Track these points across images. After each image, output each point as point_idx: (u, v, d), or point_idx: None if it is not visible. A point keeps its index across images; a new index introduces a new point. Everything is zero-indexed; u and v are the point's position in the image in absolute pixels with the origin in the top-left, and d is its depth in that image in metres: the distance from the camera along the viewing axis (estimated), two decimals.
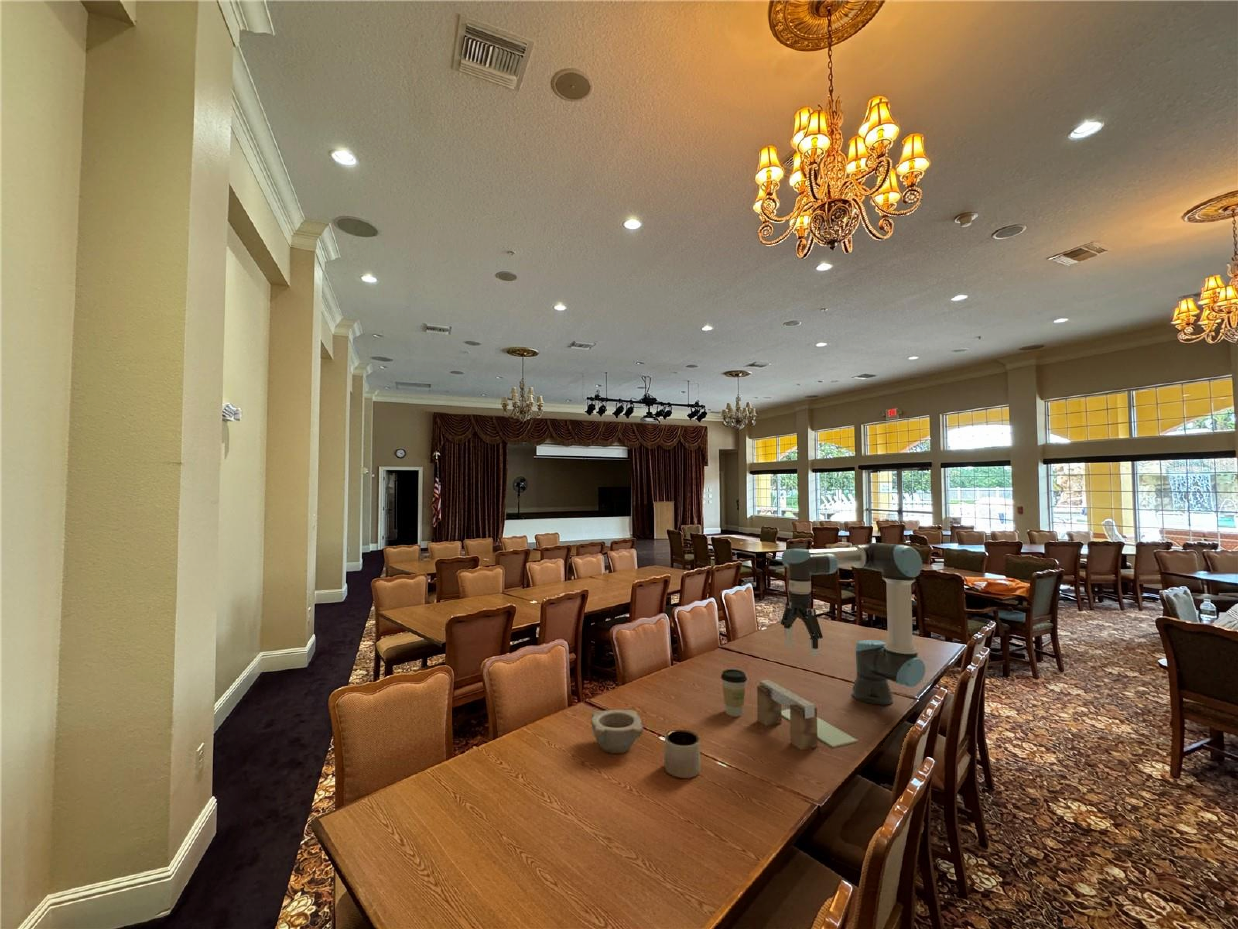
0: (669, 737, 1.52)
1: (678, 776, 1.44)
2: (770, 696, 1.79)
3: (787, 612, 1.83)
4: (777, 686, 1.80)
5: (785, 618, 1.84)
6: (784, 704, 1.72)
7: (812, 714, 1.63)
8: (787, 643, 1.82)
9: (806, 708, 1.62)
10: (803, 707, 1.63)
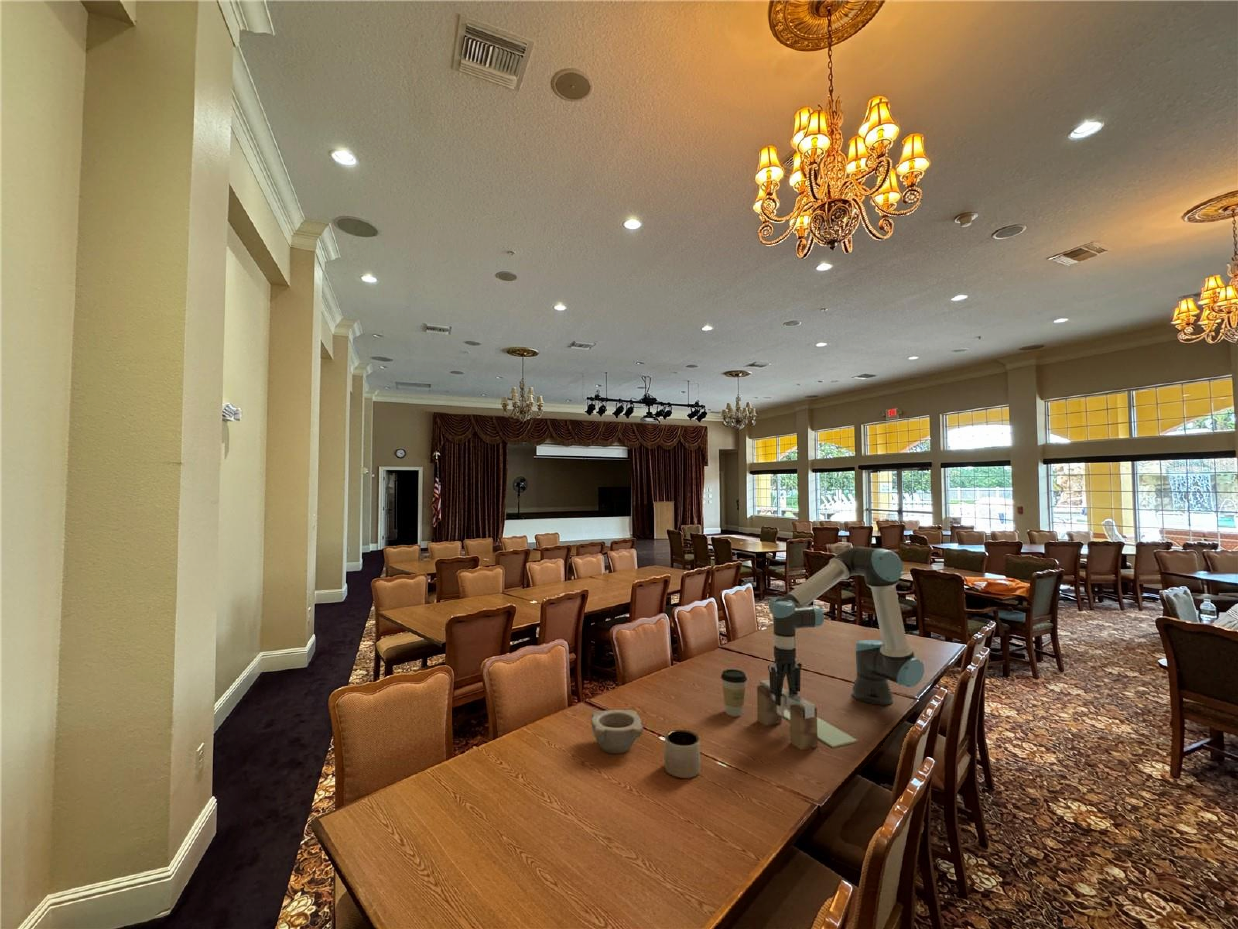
0: (669, 737, 1.52)
1: (678, 776, 1.44)
2: (770, 696, 1.79)
3: (794, 672, 1.77)
4: None
5: (794, 680, 1.77)
6: (784, 704, 1.72)
7: (812, 714, 1.63)
8: None
9: (806, 708, 1.62)
10: (803, 707, 1.63)
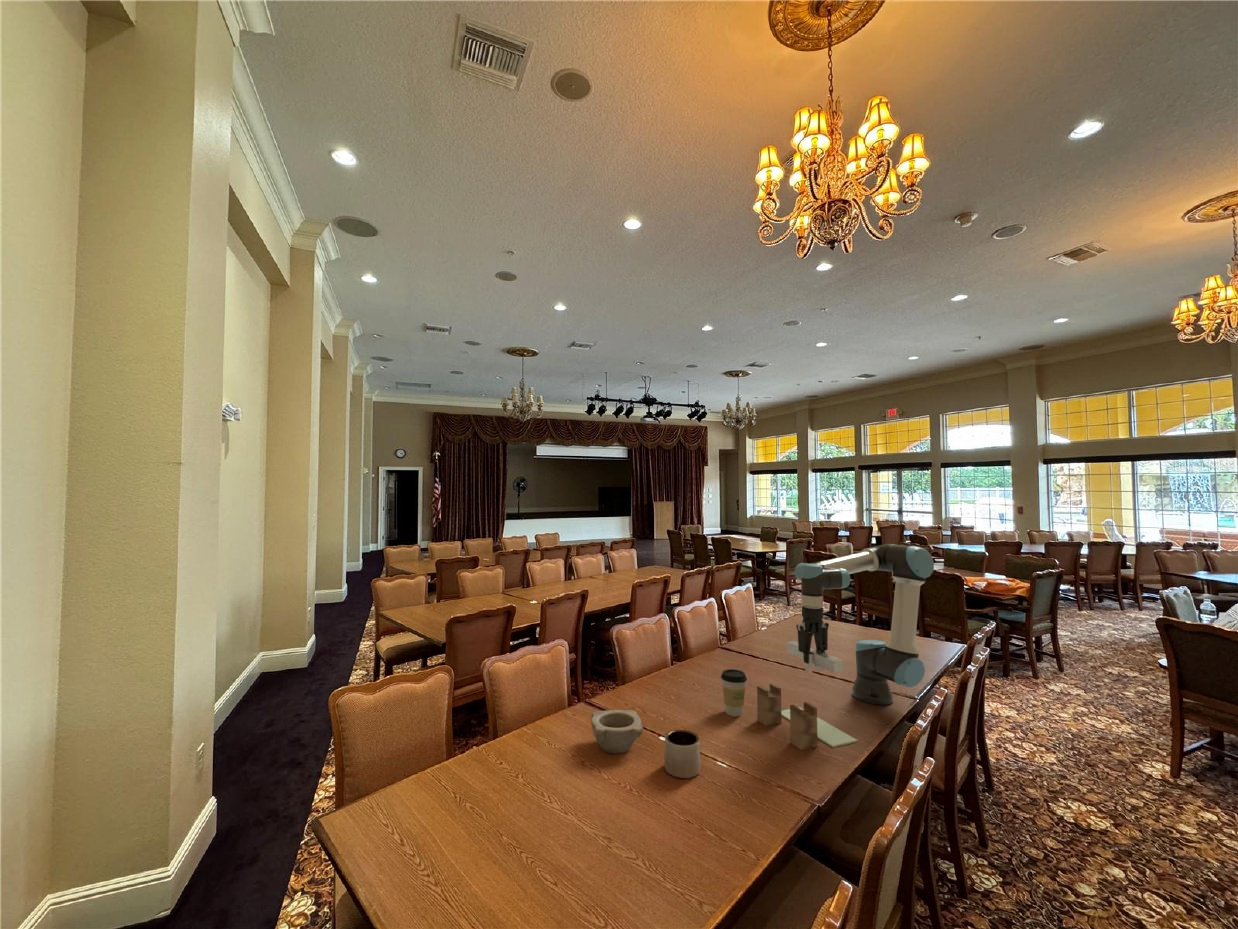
0: (669, 737, 1.52)
1: (678, 776, 1.44)
2: (798, 655, 1.84)
3: (821, 632, 1.82)
4: None
5: None
6: (812, 661, 1.77)
7: (840, 669, 1.69)
8: (815, 666, 1.81)
9: (835, 663, 1.68)
10: (833, 662, 1.68)
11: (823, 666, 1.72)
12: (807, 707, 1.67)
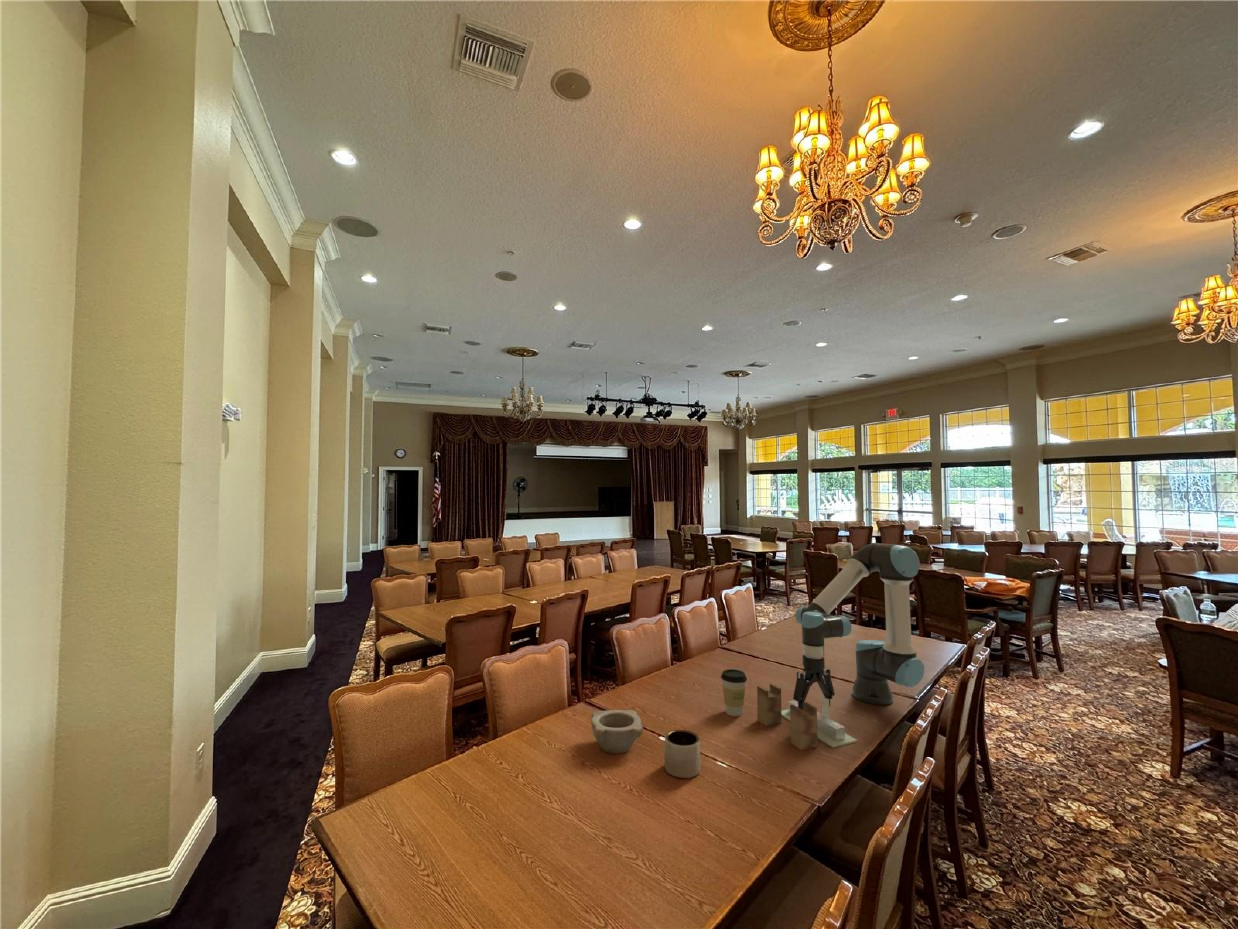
0: (669, 737, 1.52)
1: (678, 776, 1.44)
2: None
3: (825, 679, 1.82)
4: None
5: (826, 686, 1.82)
6: None
7: (842, 736, 1.67)
8: (823, 711, 1.81)
9: (837, 731, 1.67)
10: (834, 730, 1.67)
11: (825, 732, 1.71)
12: (807, 707, 1.67)
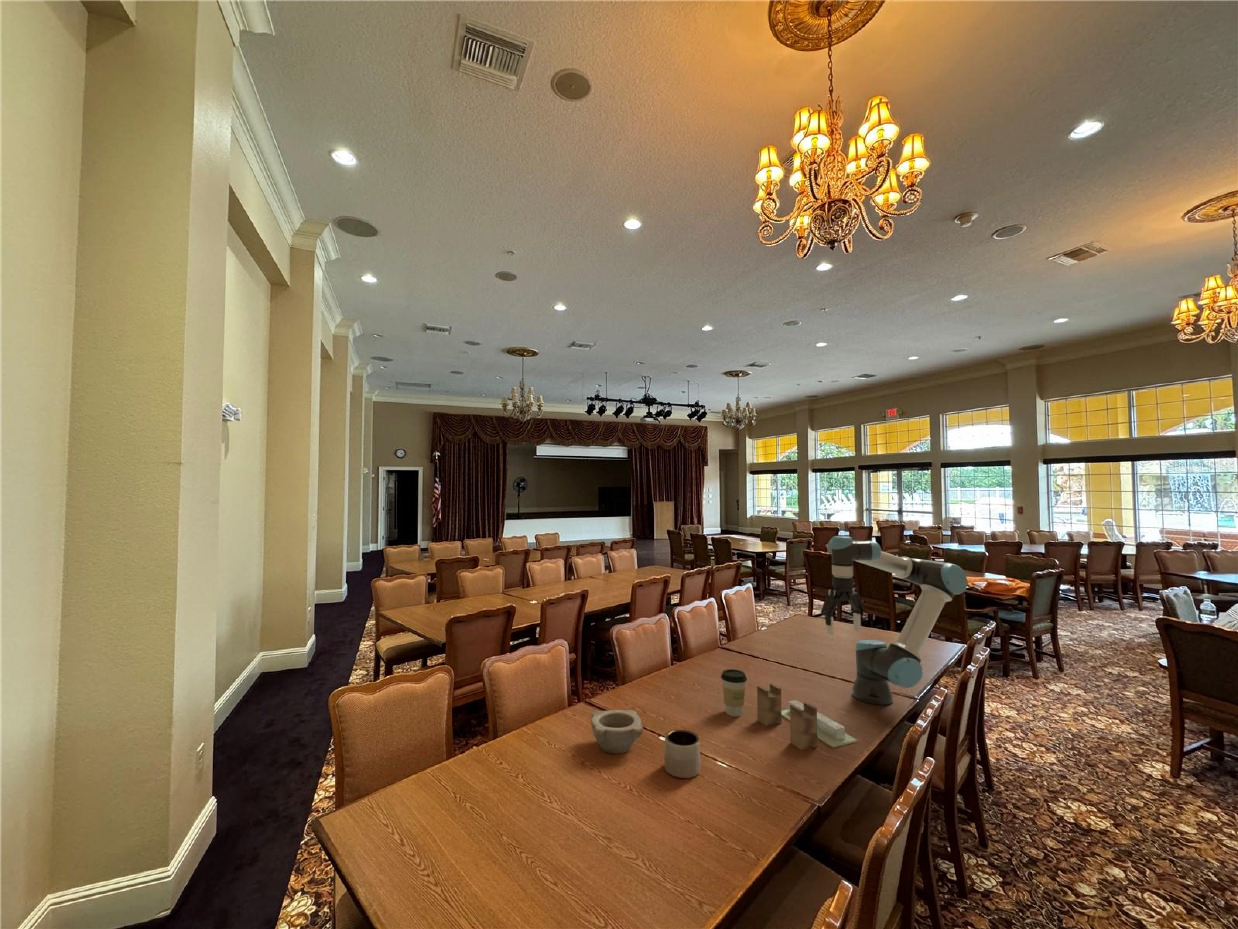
0: (669, 737, 1.52)
1: (678, 776, 1.44)
2: None
3: (854, 597, 1.92)
4: None
5: (857, 604, 1.92)
6: None
7: (842, 736, 1.67)
8: (854, 626, 1.91)
9: (837, 731, 1.67)
10: (834, 730, 1.67)
11: (825, 732, 1.71)
12: (807, 707, 1.67)
